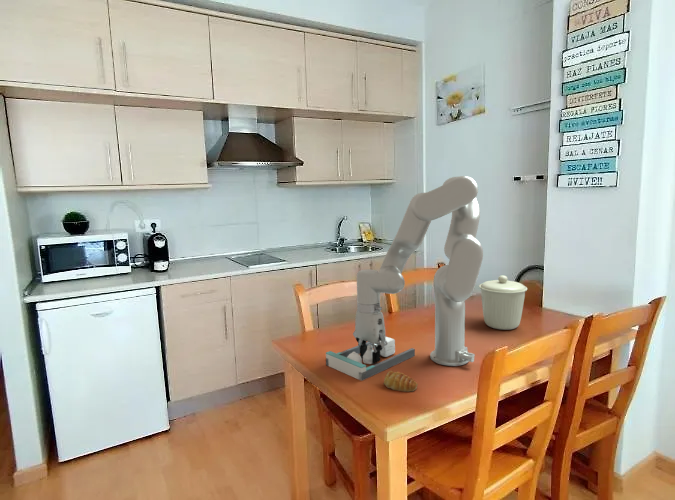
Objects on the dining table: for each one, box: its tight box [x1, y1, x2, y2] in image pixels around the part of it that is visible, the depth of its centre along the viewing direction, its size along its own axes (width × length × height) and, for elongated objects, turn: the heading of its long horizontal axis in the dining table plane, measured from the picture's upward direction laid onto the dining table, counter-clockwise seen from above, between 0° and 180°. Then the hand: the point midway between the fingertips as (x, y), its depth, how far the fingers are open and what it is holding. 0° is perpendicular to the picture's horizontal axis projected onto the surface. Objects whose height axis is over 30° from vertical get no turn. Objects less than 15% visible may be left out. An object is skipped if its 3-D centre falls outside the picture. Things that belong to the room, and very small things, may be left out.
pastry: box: [383, 370, 418, 393], centre depth 119 cm, size 9×7×4 cm
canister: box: [478, 275, 528, 331], centre depth 167 cm, size 18×18×21 cm
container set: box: [347, 335, 396, 365], centre depth 137 cm, size 20×5×6 cm, turn 132°
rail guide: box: [325, 342, 416, 381], centre depth 138 cm, size 16×26×4 cm, turn 132°
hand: (370, 359), depth 138 cm, fingers closed on container set, 5 cm apart
